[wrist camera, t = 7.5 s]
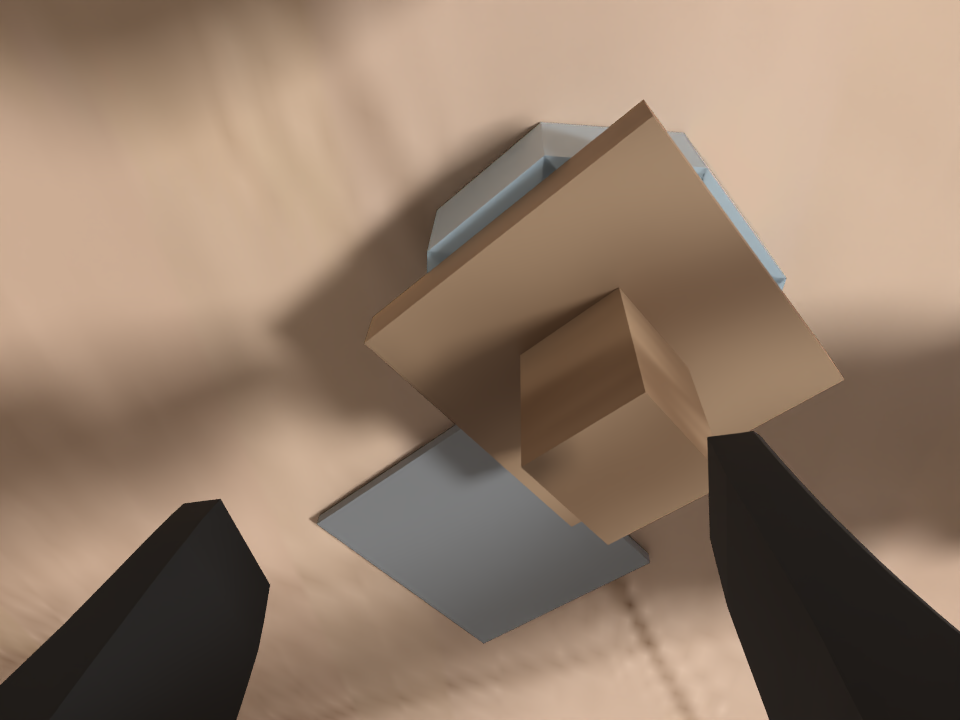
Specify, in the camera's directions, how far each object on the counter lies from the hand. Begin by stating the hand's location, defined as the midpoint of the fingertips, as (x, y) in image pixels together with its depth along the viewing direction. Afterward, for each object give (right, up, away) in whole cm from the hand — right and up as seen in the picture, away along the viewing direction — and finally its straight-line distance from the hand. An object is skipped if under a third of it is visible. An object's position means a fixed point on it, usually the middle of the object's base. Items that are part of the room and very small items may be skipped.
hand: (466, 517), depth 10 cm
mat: (0, -4, +15) cm, 16 cm away
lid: (+3, +3, +7) cm, 8 cm away
